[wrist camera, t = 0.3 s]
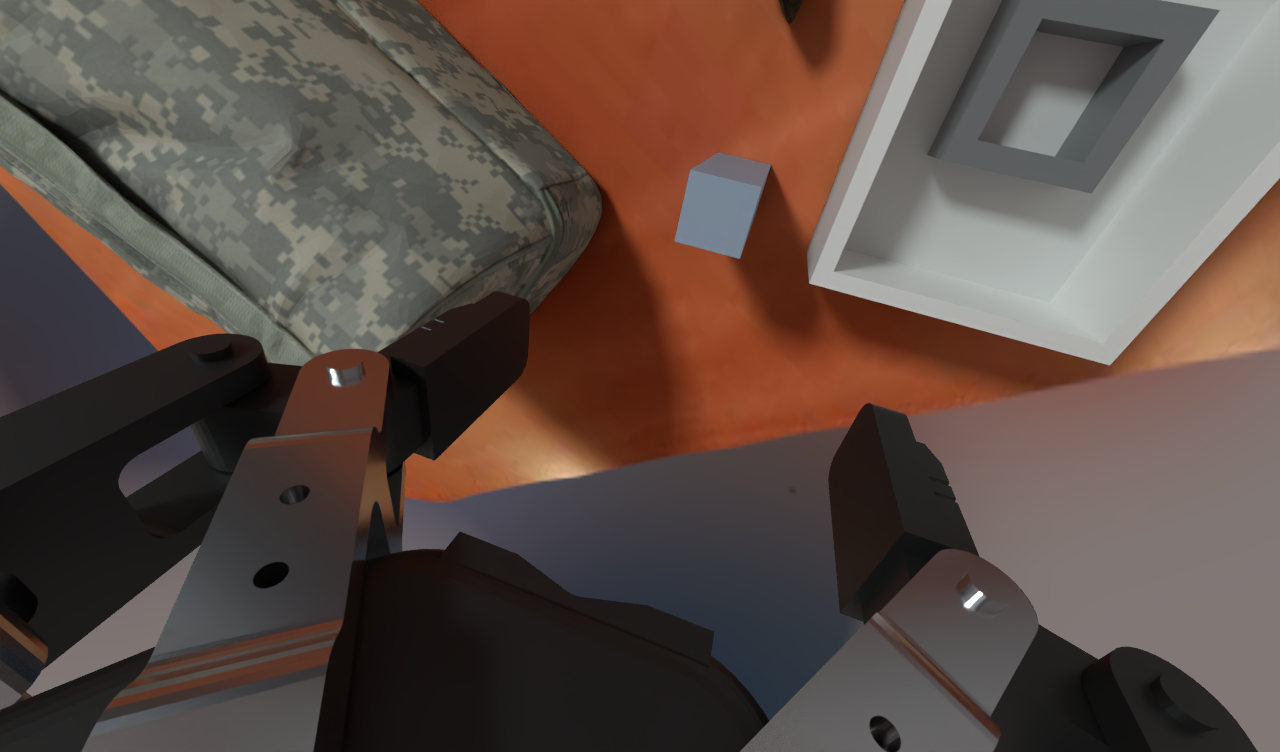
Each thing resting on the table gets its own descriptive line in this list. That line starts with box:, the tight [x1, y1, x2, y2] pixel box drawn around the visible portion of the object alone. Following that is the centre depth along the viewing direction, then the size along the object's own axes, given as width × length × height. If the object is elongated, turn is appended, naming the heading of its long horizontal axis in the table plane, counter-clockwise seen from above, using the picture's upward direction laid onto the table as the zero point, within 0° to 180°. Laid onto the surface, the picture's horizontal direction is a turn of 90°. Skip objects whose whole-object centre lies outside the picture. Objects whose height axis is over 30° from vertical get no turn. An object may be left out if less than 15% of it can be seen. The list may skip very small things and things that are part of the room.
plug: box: [675, 152, 771, 259], centre depth 27 cm, size 4×4×10 cm
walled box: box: [807, 0, 1280, 365], centre depth 22 cm, size 22×16×7 cm
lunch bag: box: [0, 0, 602, 366], centre depth 28 cm, size 26×18×22 cm
